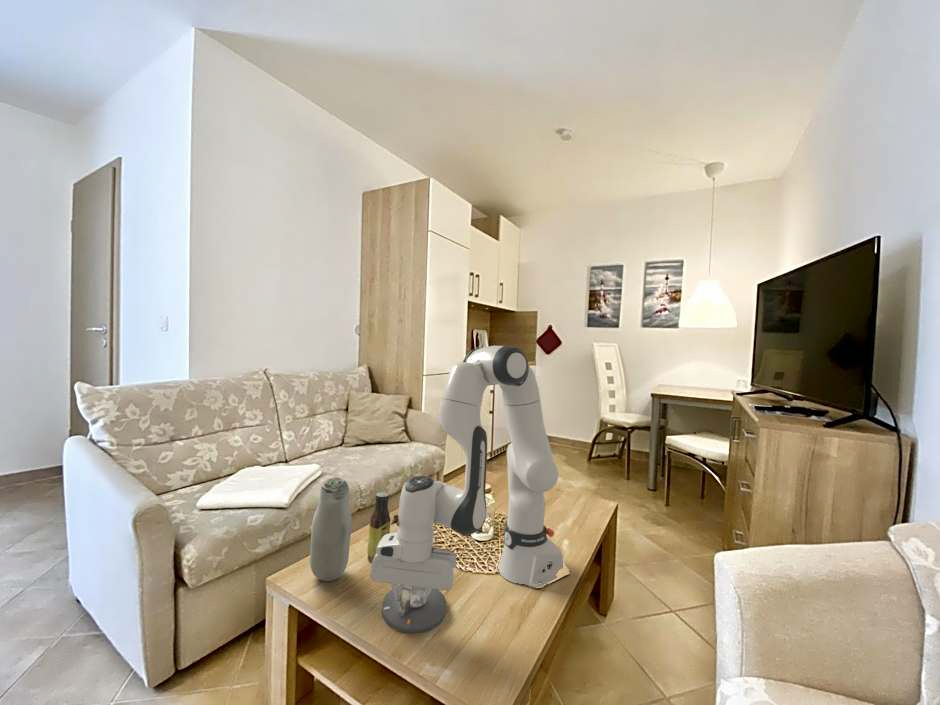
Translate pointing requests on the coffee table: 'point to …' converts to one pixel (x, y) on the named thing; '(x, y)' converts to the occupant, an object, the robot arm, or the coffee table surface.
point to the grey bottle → (331, 531)
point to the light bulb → (409, 600)
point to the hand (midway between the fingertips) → (410, 600)
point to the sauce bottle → (378, 523)
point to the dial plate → (414, 612)
